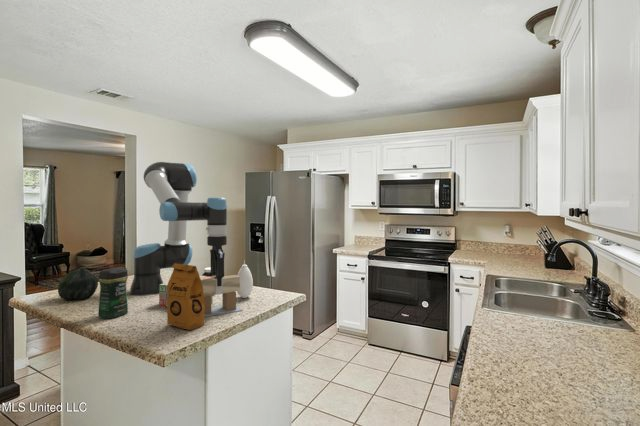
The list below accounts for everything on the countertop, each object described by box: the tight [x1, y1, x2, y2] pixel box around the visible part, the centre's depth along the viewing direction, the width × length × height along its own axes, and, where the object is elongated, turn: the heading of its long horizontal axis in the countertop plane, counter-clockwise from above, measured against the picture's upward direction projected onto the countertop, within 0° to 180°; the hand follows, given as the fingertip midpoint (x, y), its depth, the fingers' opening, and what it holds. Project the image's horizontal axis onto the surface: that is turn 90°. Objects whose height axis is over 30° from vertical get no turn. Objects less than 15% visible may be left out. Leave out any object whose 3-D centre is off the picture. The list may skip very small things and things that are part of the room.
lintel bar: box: [201, 274, 240, 297], centre depth 135 cm, size 4×18×6 cm, turn 129°
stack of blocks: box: [158, 275, 213, 307], centre depth 144 cm, size 21×6×12 cm, turn 84°
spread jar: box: [201, 266, 213, 277], centre depth 164 cm, size 12×11×12 cm
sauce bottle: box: [236, 259, 254, 299], centre depth 155 cm, size 8×8×18 cm
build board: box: [204, 291, 243, 318], centre depth 136 cm, size 10×18×7 cm, turn 121°
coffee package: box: [166, 264, 205, 331], centre depth 119 cm, size 10×12×22 cm
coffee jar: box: [97, 266, 129, 320], centre depth 129 cm, size 10×8×19 cm
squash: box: [57, 267, 99, 301], centre depth 152 cm, size 14×15×15 cm
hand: (217, 292), depth 136 cm, fingers closed on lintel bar, 4 cm apart
